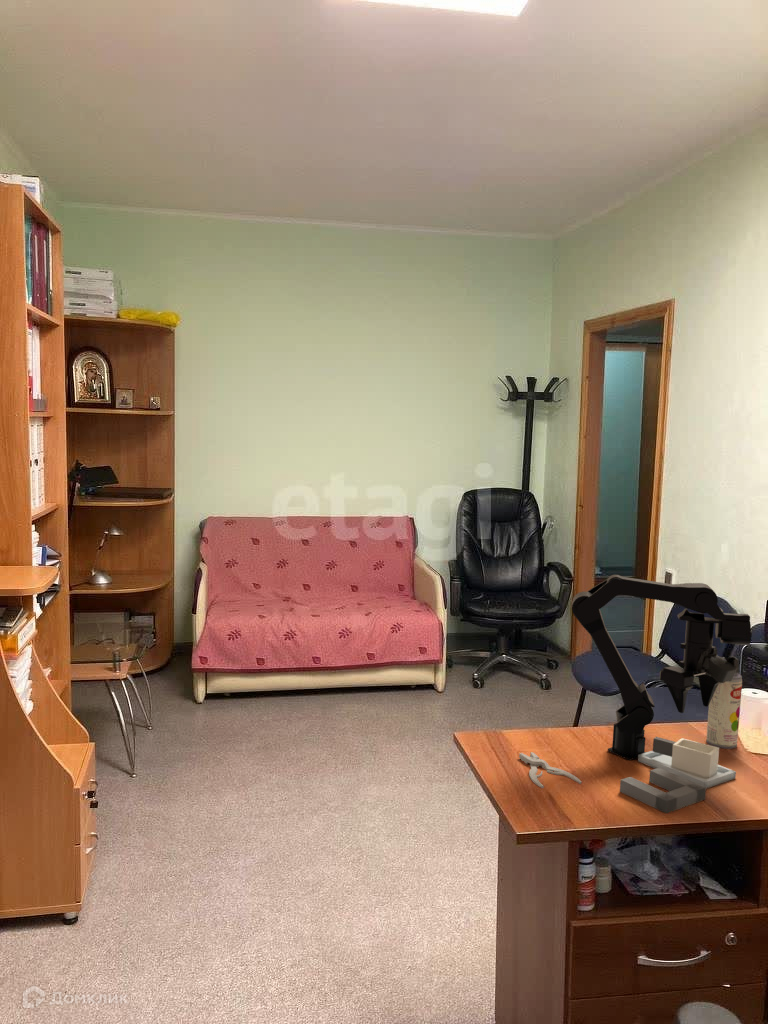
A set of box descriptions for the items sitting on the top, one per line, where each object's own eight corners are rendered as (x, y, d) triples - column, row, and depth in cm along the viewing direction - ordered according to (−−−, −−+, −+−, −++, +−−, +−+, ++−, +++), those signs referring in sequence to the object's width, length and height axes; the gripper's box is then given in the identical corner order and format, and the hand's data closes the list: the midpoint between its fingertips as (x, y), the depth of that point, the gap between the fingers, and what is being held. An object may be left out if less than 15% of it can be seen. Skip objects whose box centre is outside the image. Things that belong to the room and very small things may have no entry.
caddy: (648, 762, 177) (650, 738, 177) (657, 755, 182) (659, 732, 181) (708, 780, 169) (710, 754, 169) (717, 772, 174) (719, 747, 173)
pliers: (540, 782, 163) (506, 754, 177) (540, 789, 163) (505, 761, 177) (582, 777, 166) (545, 750, 180) (582, 784, 166) (545, 757, 180)
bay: (619, 791, 163) (620, 779, 163) (658, 779, 170) (659, 767, 170) (666, 813, 154) (667, 801, 154) (705, 799, 161) (705, 787, 161)
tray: (637, 761, 179) (638, 754, 179) (669, 751, 186) (669, 745, 186) (704, 789, 166) (704, 782, 166) (735, 778, 172) (735, 771, 172)
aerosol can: (730, 751, 188) (737, 667, 186) (701, 742, 192) (708, 661, 191) (741, 743, 193) (747, 662, 191) (712, 735, 197) (718, 656, 196)
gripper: (706, 654, 166) (700, 727, 168) (756, 644, 177) (750, 713, 178) (660, 642, 175) (655, 711, 177) (711, 633, 186) (706, 699, 187)
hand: (693, 709), depth 179 cm, fingers open, 9 cm apart
